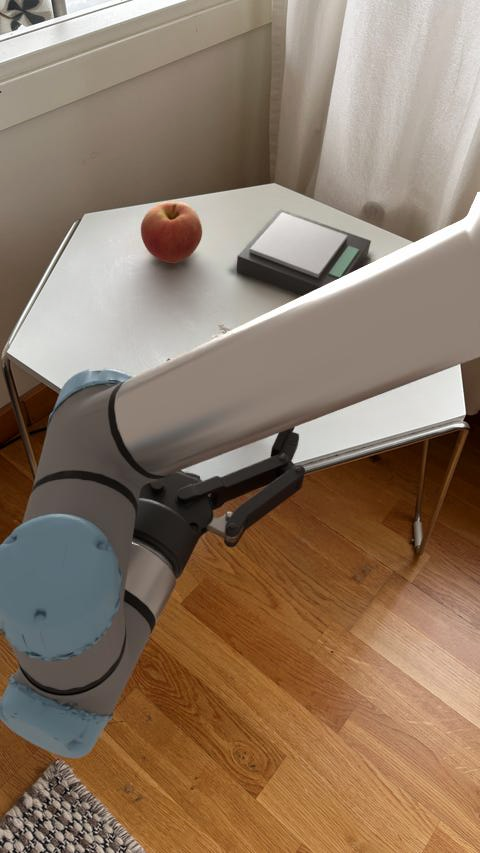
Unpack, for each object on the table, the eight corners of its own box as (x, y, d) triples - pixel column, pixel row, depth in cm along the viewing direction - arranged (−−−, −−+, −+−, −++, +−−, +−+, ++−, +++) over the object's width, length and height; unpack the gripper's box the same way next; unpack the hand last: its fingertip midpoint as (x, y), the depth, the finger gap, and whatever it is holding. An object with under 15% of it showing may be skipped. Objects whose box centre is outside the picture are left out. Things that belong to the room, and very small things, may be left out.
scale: (367, 255, 99) (372, 236, 97) (331, 307, 92) (335, 288, 89) (277, 223, 103) (280, 204, 100) (236, 271, 95) (237, 252, 93)
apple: (214, 258, 96) (216, 207, 90) (167, 280, 93) (166, 228, 87) (178, 230, 100) (177, 179, 94) (131, 250, 96) (128, 198, 90)
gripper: (15, 531, 64) (124, 377, 77) (274, 634, 59) (343, 451, 72) (-1, 483, 58) (120, 325, 71) (284, 594, 54) (357, 403, 67)
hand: (232, 388), depth 72 cm, fingers open, 13 cm apart
